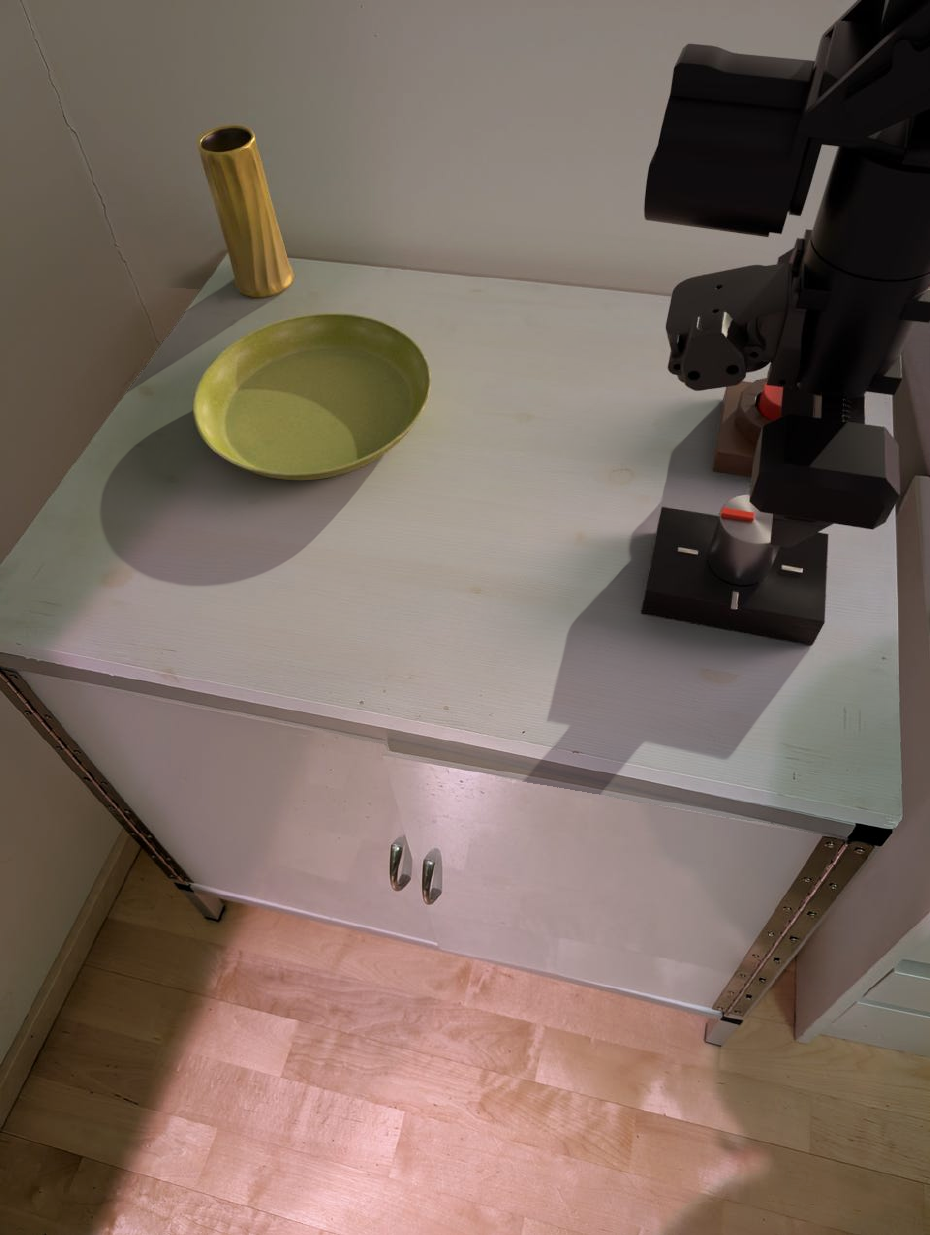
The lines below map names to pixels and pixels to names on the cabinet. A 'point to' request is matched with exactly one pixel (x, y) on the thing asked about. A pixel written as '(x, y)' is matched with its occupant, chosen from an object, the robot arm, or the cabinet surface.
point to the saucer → (312, 396)
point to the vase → (245, 210)
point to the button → (771, 402)
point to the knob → (742, 543)
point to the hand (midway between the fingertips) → (783, 486)
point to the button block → (739, 428)
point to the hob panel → (699, 596)
